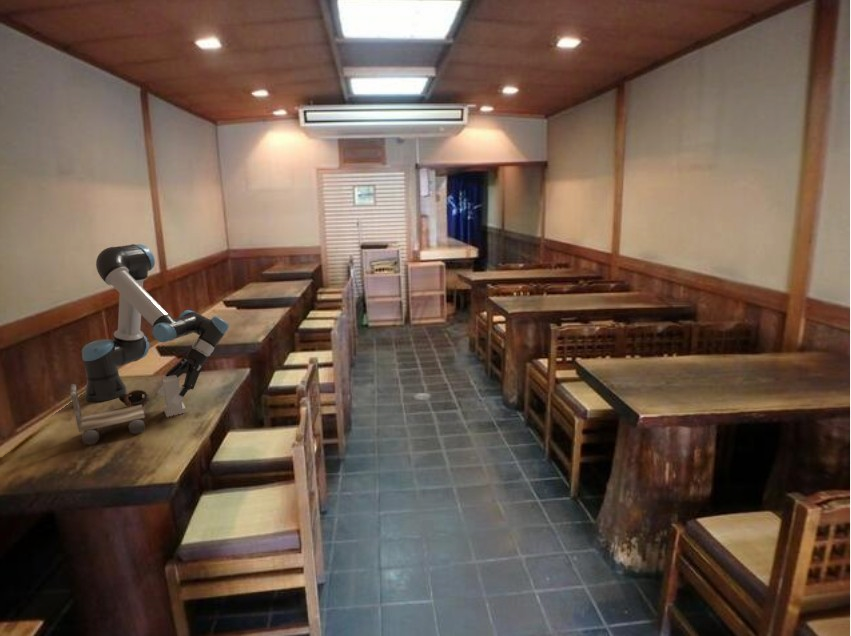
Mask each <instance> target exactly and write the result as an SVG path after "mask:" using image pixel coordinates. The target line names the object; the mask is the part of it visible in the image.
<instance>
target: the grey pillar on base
mask: <svg viewBox="0 0 851 636" xmlns="http://www.w3.org/2000/svg"><path fill="white" fill-rule="evenodd" d="M161 380H162V385H163V387H164V394H165V395H164V400H165V406H163V411H164V414H165V416H166V418H169V416H170V417H174V416H178V414H179V415H183V414H186V413H187V408H186V406H185V404H184V402H183V401H182V400H181V401H180V403H179V404H178V405H177V404H175V403H173V402H172V399H173V398H174V397H175V395H176V394H177V392H178V391H179V389H180V388H181V387H180V381H179V377H178V378H177V376H176V375H172V376H162V377H161ZM182 413H183V414H182ZM173 415H174V416H173Z"/></svg>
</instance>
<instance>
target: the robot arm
mask: <svg viewBox="0 0 851 636" xmlns="http://www.w3.org/2000/svg"><path fill="white" fill-rule="evenodd" d="M155 264H156V261H155V256H154V254H153V252H152V251H151V249H150V248H149V247H148V246H146V245H144V244H141V243H139V244H133V243H132V244H128V245H127V244H126V245H118V246H111V247H107V248H105V249H103V250H102V251H100V253H99V254H98V255H97V257H96V260H95V266H96V267H95V268H96V272H97V273H98V275H99V276H100V278H101V280H102V281H104V283H105V284H106V285H108V286H112V287H113V288H114V289H115V290H116V291H117V292H118V293H119V297H118V299H119V300H118V301H119V302H118V319H117V320H118V323H117V330H115V331H114V332H113V340H112V339H110V338H103V339H98V340H94V341H92V342H91V341H90V342H88V343H87V344H85V345H84V346H83V347H82V349H81V353H82V354H81V355H82V356H81V358H82V361H83V365H84V366H83V367H84V371H85V376H86V381H87V382H86V387H85V392H84V397H85V400H86V401H87V402H91V403H92V402H93V403H98V402H104V401H105V402H106V401H110V400H114V399H117V398H119V396H120V394H127V387H126V385H125V383H124V382H123V379H122V378H121V377H120V374H119V369H118V368H119V367H122V366H125V365H128V364H130V363H134V362H138V361H139V360H141V359H143V358H145V357H146V356H147V354H148V353H149V351H150V342H149V341H148V338H147V337H146V336H145V333H144V332H143V331H142V330H141V325H142V324H141V322H142V317H143V318H144V319H145V320H146V321H147V322H148V324H150V325H151V326H152V335H153V337H154V339H155V340H156V341H157V342H159V343H167V342H172V341H175V340H176V339H180V338H181V337H185V336H188V335H191V334H196V335H198V337H197V339H196V340H195V341H194V343H193V344H192V347H191V348H189V350H188V352H187V353H186V355H185V356H186V357H187V358H186V359H185V358H184V357H182V358H181V360H180V361H179V362H178V363H177V364H176V365H175V366H173V368H172V369H169V371H168V372H167V373H166V374H165V377H167V376H172V375H176V376H177V378H178V379H179V377H180V376H182V375H183V374H186V375H185V378H184V382H183V384H182V386H181V387H180V389H179V391H178V392H177V394H176V395H175V397H174V398H173V399H172V402H173V403H175V404H177V405H178V404H179V403H180V401H182V400H183V398H184V397H185V395H186V394H187V392H188V391H190V390H194V388H195V386H196V384H197V380H198V378H199V376H200V374H201V371H202V370H203V365H205V363H206V362H207V360H208V357H210V356H211V354H212V353H213V352H214V350H215V348H216V347H217V346H218V344H219V343H220V341H221V340H222V339H223V337H224V336H225V335H226V333H227V331H228V330H229V328H230V325H229V323H228V322H227V321H225V320H224V319H222V318H220V317H218V316H213V317H212V318H211V319H209V318H208V317H205V316H204V315H201V314H200V313H198V312H196V311H194V310H190V309H186V310H183V312H181V313H180V315H179V316H178V318H174V317H173V316H171V315H170V314H169V313H168V312H167V311H166V310H165V308H163V307H162V306H161V304H160V303H159V302H157V301H156V299H155V298H153V297H152V296H151V294H150V293H149V292H148V291H147V290H145V288H144V281H145V280H147V279H148V274H149V272H150V271H151V270H153V269H154V267H155ZM156 394H158V395H159V396H162V397H165V394H164V387H163V384H162V385H161V386H160V388H159V389H158V390H157V392H156Z"/></svg>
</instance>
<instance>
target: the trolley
mask: <svg viewBox="0 0 851 636" xmlns="http://www.w3.org/2000/svg"><path fill="white" fill-rule="evenodd" d="M69 392H70V396H71V401H72V406H73V411H74V415H75V420H76V426H77V428H78V432H79V433H81V432H82V435H81V440H82V443H84V444H85V445H88V446H90V445H94V444H96V443H97V442H98V441H99V439H100V434H99V431H98V429H99V428H103V427H108V426H113V425H118V424H121V423H126V422H128V430H129V433H131V434H135V435H137V434H140V433H142V432H143V431H144V430H145V427H146V425H145V422H144V420H142V419H144V418H145V417H146V415H145V412H144V407H143V406H142V404H141V405H137V406H132V407H129V406H126V407H124V408H119V409H118V408H117V409H114V410H109V411H105V412H101V413H96V414H90V415H87V416H86V415H85V416H82V411H81V405H80V402H79V397H78V392H77V384H75V383H72V384H71V385H70V391H69Z"/></svg>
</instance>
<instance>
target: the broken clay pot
mask: <svg viewBox="0 0 851 636" xmlns="http://www.w3.org/2000/svg"><path fill="white" fill-rule="evenodd" d="M143 395H144V396H143ZM118 399H119V401H120V402H122V403H123V404H124V405H125V407H132V406H137V405H141V404H142V407H145V405H147V403H148V402H150V398H149V394H148V393H147V392H146V391H145V390H142V389H134V390H131V391H130V392H128V393H125V394H120V396H119V397H118Z"/></svg>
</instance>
